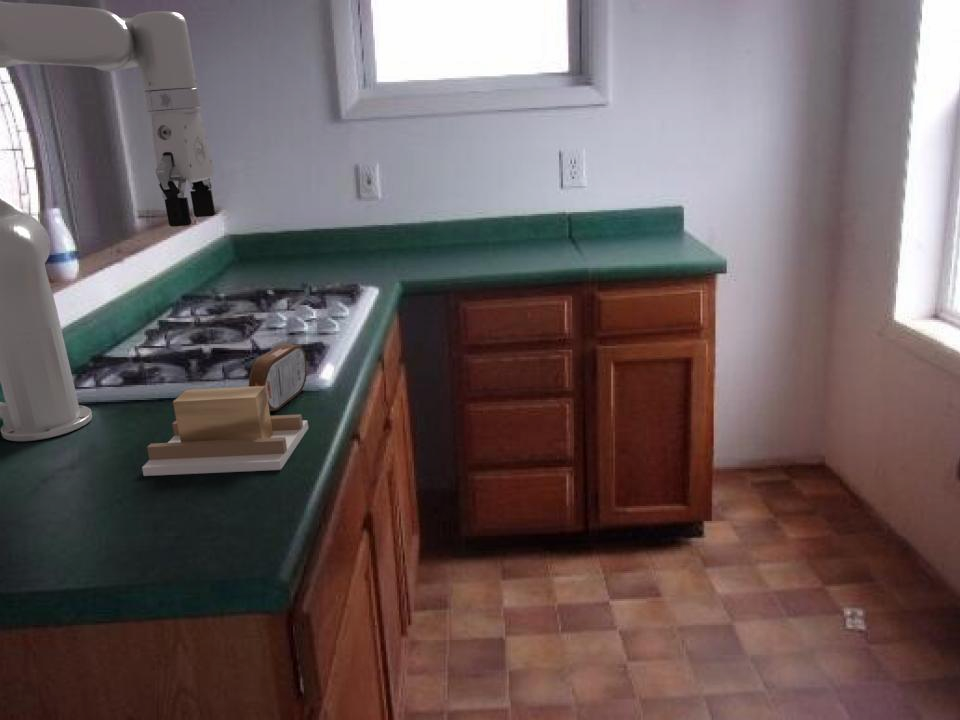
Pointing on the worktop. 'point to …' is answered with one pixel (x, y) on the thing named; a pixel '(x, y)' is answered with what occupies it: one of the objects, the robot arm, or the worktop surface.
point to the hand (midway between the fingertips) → (193, 220)
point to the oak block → (223, 414)
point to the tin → (280, 374)
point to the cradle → (227, 451)
